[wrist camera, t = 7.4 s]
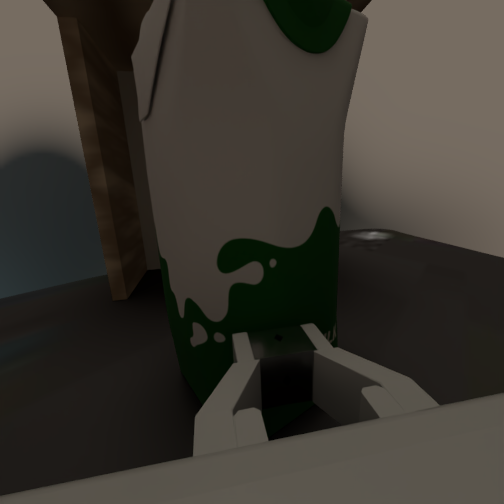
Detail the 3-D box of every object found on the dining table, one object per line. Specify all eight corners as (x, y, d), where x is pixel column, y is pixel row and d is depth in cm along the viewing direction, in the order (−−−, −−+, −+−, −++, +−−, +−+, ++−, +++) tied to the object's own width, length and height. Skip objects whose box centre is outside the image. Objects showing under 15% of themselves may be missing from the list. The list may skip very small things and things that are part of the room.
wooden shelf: (89, 329, 22) (-6, -87, 15) (139, 267, 40) (105, 57, 33) (362, 295, 27) (385, -45, 20) (300, 253, 44) (300, 63, 37)
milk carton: (229, 496, 10) (160, -267, 5) (161, 368, 17) (105, 7, 12) (363, 389, 15) (397, -54, 10) (265, 325, 22) (256, 52, 17)
